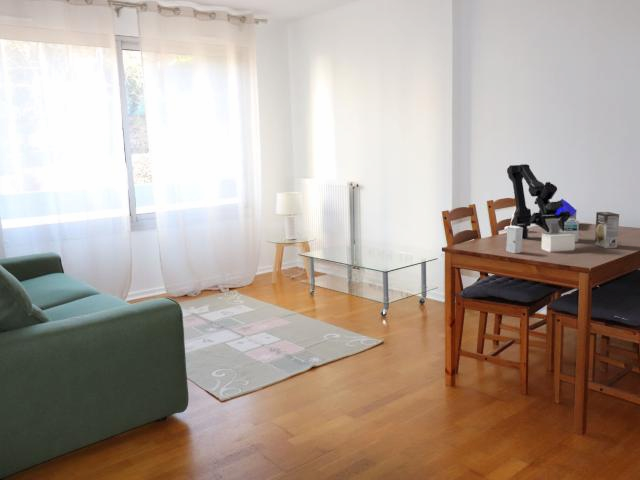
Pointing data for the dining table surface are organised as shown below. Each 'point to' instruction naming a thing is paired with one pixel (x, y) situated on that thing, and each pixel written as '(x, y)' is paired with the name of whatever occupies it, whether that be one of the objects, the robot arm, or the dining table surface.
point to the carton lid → (556, 231)
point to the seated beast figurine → (511, 220)
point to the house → (565, 208)
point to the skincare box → (514, 239)
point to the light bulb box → (572, 227)
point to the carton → (558, 243)
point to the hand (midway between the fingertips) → (556, 231)
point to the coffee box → (606, 229)
